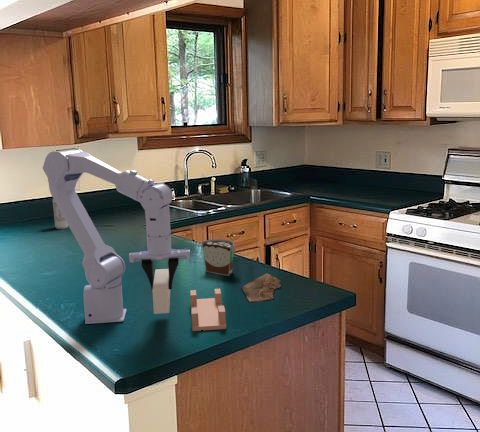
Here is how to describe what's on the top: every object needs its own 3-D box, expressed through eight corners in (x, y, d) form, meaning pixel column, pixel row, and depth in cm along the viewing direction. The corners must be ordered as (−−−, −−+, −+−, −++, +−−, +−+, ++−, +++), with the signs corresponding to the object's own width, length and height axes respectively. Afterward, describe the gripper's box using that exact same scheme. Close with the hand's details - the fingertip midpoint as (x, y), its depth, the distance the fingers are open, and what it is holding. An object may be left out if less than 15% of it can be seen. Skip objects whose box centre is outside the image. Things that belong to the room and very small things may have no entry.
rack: (192, 331, 126) (191, 315, 125) (190, 303, 145) (190, 289, 144) (226, 328, 127) (225, 313, 126) (220, 301, 145) (219, 287, 145)
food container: (243, 271, 172) (243, 241, 170) (232, 276, 167) (232, 245, 165) (213, 266, 178) (212, 237, 177) (202, 270, 174) (200, 241, 172)
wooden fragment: (270, 305, 142) (270, 301, 142) (231, 302, 145) (231, 298, 145) (288, 276, 167) (288, 273, 166) (254, 274, 170) (254, 271, 169)
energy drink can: (71, 226, 248) (68, 194, 245) (65, 229, 242) (62, 196, 239) (59, 226, 249) (56, 194, 246) (52, 229, 243) (49, 196, 240)
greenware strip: (153, 313, 122) (152, 289, 121) (156, 291, 138) (155, 269, 137) (169, 312, 123) (167, 288, 122) (170, 290, 138) (169, 268, 137)
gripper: (126, 240, 123) (130, 295, 125) (189, 236, 124) (191, 292, 127) (129, 233, 129) (132, 286, 132) (188, 230, 131) (191, 282, 134)
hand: (161, 288), depth 130 cm, fingers closed on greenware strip, 3 cm apart
